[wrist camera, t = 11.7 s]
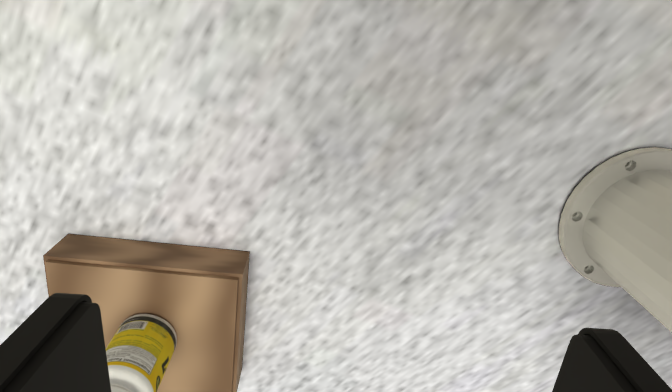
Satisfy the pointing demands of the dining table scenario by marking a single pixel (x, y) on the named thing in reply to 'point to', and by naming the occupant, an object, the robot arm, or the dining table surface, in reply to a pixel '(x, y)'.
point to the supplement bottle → (140, 353)
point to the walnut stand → (164, 299)
